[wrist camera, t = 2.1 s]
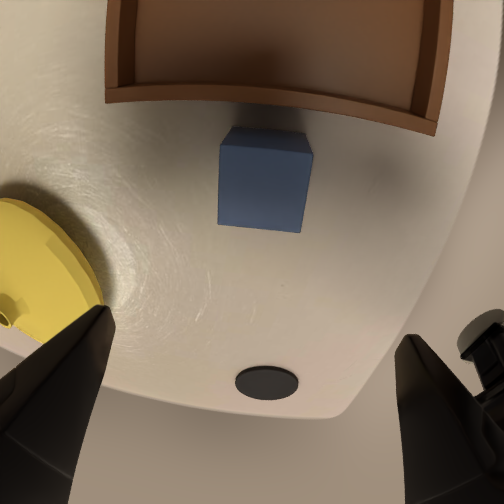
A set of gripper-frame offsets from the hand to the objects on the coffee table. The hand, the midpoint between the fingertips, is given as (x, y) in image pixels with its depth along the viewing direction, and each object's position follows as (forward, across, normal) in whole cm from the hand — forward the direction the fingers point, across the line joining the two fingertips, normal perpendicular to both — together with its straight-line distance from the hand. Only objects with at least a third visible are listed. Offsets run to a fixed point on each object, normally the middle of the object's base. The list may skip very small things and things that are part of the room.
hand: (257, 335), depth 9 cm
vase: (+11, +19, +8) cm, 24 cm away
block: (+11, 0, -1) cm, 11 cm away
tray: (+11, 0, -28) cm, 30 cm away
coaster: (+11, -2, +21) cm, 24 cm away
